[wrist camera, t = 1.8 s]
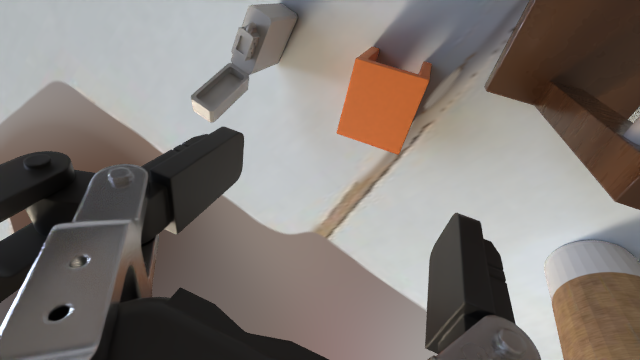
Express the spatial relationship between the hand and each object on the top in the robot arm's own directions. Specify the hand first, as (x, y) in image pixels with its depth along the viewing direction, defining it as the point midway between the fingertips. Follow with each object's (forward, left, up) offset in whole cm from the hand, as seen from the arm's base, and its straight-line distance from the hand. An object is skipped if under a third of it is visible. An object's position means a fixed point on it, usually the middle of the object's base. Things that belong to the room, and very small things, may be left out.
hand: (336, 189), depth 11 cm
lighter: (-10, 0, -15) cm, 18 cm away
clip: (0, 0, -14) cm, 14 cm away
